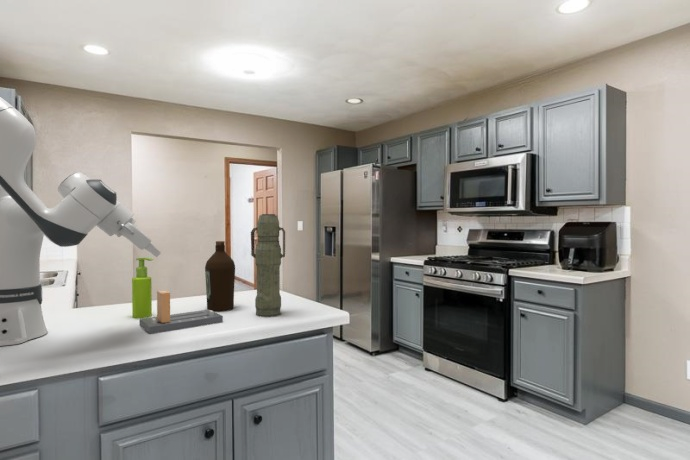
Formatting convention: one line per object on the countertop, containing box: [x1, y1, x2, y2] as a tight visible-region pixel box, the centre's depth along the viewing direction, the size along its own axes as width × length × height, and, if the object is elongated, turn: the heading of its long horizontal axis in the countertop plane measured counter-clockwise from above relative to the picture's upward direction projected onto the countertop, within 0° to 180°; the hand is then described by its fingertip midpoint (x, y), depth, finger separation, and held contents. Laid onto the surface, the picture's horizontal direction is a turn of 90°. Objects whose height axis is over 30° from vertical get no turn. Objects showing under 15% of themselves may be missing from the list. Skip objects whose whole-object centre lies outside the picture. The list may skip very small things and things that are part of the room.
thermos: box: [250, 213, 286, 318], centre depth 145 cm, size 9×12×35 cm
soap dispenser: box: [131, 257, 154, 319], centre depth 141 cm, size 6×7×20 cm
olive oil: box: [204, 240, 236, 313], centre depth 153 cm, size 11×11×25 cm
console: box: [138, 309, 224, 335], centre depth 132 cm, size 22×12×4 cm, turn 129°
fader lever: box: [156, 290, 171, 323], centre depth 126 cm, size 2×5×9 cm, turn 39°
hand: (156, 253), depth 123 cm, fingers open, 8 cm apart
